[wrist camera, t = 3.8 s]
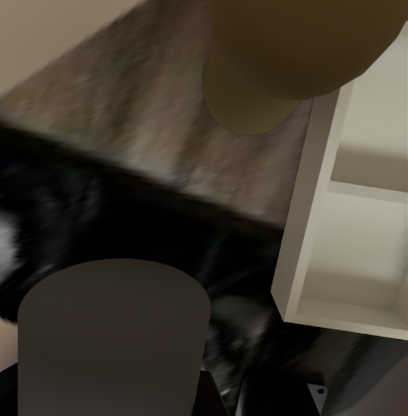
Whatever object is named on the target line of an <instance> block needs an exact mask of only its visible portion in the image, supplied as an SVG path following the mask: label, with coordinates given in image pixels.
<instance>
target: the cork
mask: <svg viewBox="0 0 408 416" xmlns="http://www.w3.org/2000/svg"><path fill="white" fill-rule="evenodd" d="M208 12H209V17H210V23H211V28H212V34H213V39H214V42H215V43H214V45H213V48H212V51H211V54H210V56H209V59H208V62H207V65H206V67H205V70H204V75H203V86H202V90H203V95H204V100H205V104H206V106H207V108H208V110H209V112H210V114H211V115H212V117H213V118H214V119H215V120H216V121H217V122H218V123H219V124H220V125H221V126H222V127H223V128H225V129H227V130H229V131H231V132H233V133H235V134H239V135H248V136H254V135H258V134H263V133H267V132H268V131H270V130H272V129H274V128H275V127H277V126H279V125H280V124H281V123H282V122H283V121H284V120H285V119H286V118H287V117H288V115H289V114H290V113H291V112H292V111H293V110H294V109H295V108H296V106H297V105H298V104H299V103H300V102H301V101H302V100H305V99H309V98H314V97H318V96H323V95H326V94H329V93H331V92H333V91H335V90H337V89H338V88H340V87H342V86H344V85H345V84H347V83H349V82H350V81H352V80H354V79H356V78H357V77H359V76H361V75H363V74H364V73H365V72H366V71H367V69H368V68H369V67H370V66H371V65H372V64H373V63H374V62H375V61H376V60H377V59H378V58H379V57H380V56H381V55H382V54H383V53H384V52H385V51H386V50H387V48H388V47H389V46H390V45H391V44H392V43H393V42H394V41H395V40H396V38H397V37H398V35H399V34H400V32H401V30H402V28H403V26H404V24H405V23H406V21H407V19H408V0H208Z"/></svg>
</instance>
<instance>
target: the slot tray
mask: <svg viewBox="0 0 408 416" xmlns="http://www.w3.org/2000/svg"><path fill="white" fill-rule="evenodd" d="M271 294H272V296H273V298H274V301H275V303H276V305H277V308H278V310H279V312H280V314H281V317H282V319H283V321H284V322H291V323H298V324H304V325H311V326H318V327H324V328H331V329H338V330H344V331H351V332H358V333H364V334H371V335H377V336H384V337H391V338H397V339H404V340H408V21H406V23H405V24H404V26H403V28H402V30H401V32H400V34H399V35H398V37H397V38H396V40H395V41H394V42H393V43H392V44H391V45H390V46H389V47H388V48H387V50H386V51H385V52H384V53H383V54H382V55H381V56H380V57H379V58H378V59H377V60H376V61H375V62H374V63H373V64H372V65H371V66H370V67H369V68H368V69H367V71H366V72H365V73H364V74H363V75H361V76H359V77H357V78H356V79H354V80H352V81H350V82H349V83H347V84H345V85H344V86H342V87H340V88H338V89H337V90H335V91H333V92H331V93H329V94H326V95H323V96H318V97H314V102H313V106H312V110H311V115H310V119H309V124H308V128H307V133H306V137H305V141H304V146H303V150H302V155H301V159H300V164H299V168H298V172H297V177H296V181H295V186H294V190H293V195H292V199H291V203H290V208H289V212H288V217H287V221H286V226H285V230H284V234H283V239H282V243H281V248H280V252H279V256H278V261H277V265H276V270H275V274H274V279H273V283H272V287H271Z"/></svg>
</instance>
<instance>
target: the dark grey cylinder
mask: <svg viewBox="0 0 408 416" xmlns="http://www.w3.org/2000/svg"><path fill="white" fill-rule="evenodd" d="M210 311H211V306H210V300H209V297H208V295H207V293H206V291H205V290H204V289H203V287H202V286H201V285H200V284H199V283H198V282H197V281H196V280H195V279H193V278H192V277H191V276H189V275H187V274H186V273H184V272H182V271H180V270H178V269H176V268H173V267H170V266H167V265H164V264H161V263H157V262H152V261H146V260H138V259H106V260H97V261H91V262H86V263H82V264H78V265H75V266H71V267H68V268H66V269H63V270H60V271H58V272H56V273H54V274H52V275H50V276H48V277H47V278H45V279H43V280H42V281H41V282H39V283H38V284H36V285H35V286H34V287H33V288H32V289H31V290H30V291H29V292H28V293H27V295H26V296H25V297H24V299H23V301H22V302H21V305H20V308H19V311H18V416H192V415H193V409H194V403H195V398H196V393H197V387H198V381H199V376H200V370H201V364H202V359H203V353H204V347H205V342H206V336H207V330H208V325H209V319H210Z"/></svg>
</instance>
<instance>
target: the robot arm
mask: <svg viewBox="0 0 408 416" xmlns="http://www.w3.org/2000/svg"><path fill="white" fill-rule="evenodd" d="M248 378H251V379H248ZM326 395H327V388H326V386H325V384H324V383H323V382H320V381H314V380H307V379H301V378H294V377H287V376H280V375H274V374H267V373H260V372H253V371H247V372H245V373H244V374H243V376H242V381H241V385H240V390H239V395H238V399H237V404H236V408H235V413H234V416H321V411H322V408H323V405H324V402H325V398H326ZM0 416H18V362H17V363H15V364H14V365H12V366H10V367H8V368H7V369H5V370H3V371H1V372H0ZM192 416H230V414H229V412H228V410H227V408H226V406H225V403H224V401H223V399H222V397H221V394H220V392H219V390H218V388H217V386H216V383H215V381H214V379H213V377H212V375H211V373H210V372H209V371H203V370H200V376H199V381H198V387H197V393H196V398H195V403H194V409H193V415H192Z"/></svg>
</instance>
